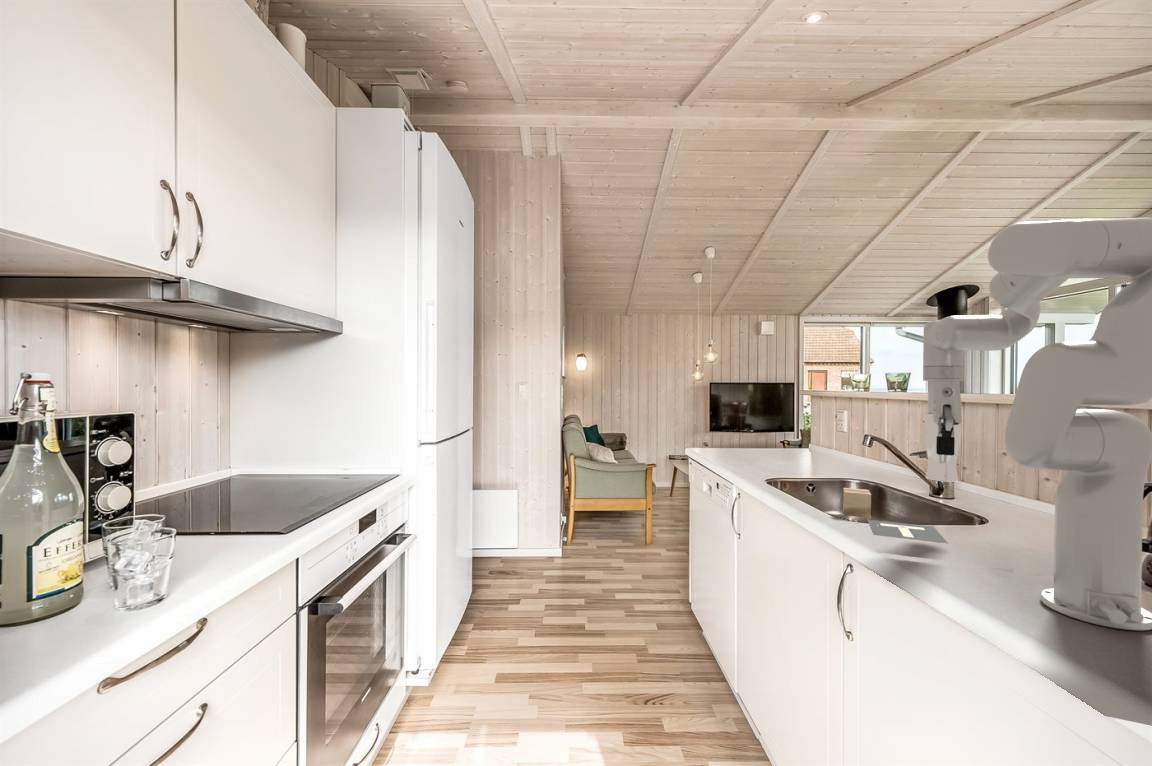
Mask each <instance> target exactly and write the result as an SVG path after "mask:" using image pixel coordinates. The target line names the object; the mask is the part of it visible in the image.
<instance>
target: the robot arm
mask: <svg viewBox="0 0 1152 766" xmlns="http://www.w3.org/2000/svg"><path fill="white" fill-rule="evenodd" d="M987 260H988V263H989V265H990V267H991V268H992V269H993V270H994V271H996V272H997V273H996V274H994V276H993V277H992V278H991V279H990V282H989V285H988V286H989V288H988V289H989V293H990V295H991V297H992V298H993V300H995V302H997V303H998V304H999V305H1000V306H1002V307H1003V308H1005V310H1004V311H1003V312H1001V313H999V314H997V315H996V314H995V315H994V314H986V315H985V314H981V315H980V314H974V315H973V314H972V315H969V314H968V315H967V314H965V315H950V316H946V317H943V318H942V319H938V320H930V321H928V322H926V323H925V324H924V326H923V346H922V347H923V348H922V349H923V350H922V351H923V354H922V355H923V356H922V357H923V358H922V359H923V360H922V381H925V382H928V387H927V391H928V392H927V413H929V414H933V420H934V423H935V424H937V425H938V436H937V441H936V453H937V454H938V455H954V446H955V437H954V426H953V418H954V420H955V421H954V422H957V423H958V424H956V425H960V424H961V425H962V421H963V420H962V399H961V386H960V382H964V379H965V378H964V372H965V371H964V369H965V368H964V366H965V365H964V364H965V362H964V360H965V351H967V352H968V351H980V352H981V351H982V352H983V351H986V352H987V351H994V352H995V351H1001V350H1004V349H1007V348H1010V347H1012V346H1013V345H1015V344H1017V343H1018V342H1020V340H1022V339H1023V338H1025V337H1026V336H1028V335H1029V334H1030V333H1031V332H1032V331H1034V329H1035V328H1036V325H1037V324H1038V321H1039V318H1040V316H1041V315H1040V314H1041V302H1042V301H1043V300H1044V299H1046V297H1048V296H1049V295H1050V294H1051V293H1053V292H1054V291H1056V290H1057V289H1058V288H1059V287H1060V286H1061V285H1063V284H1064V283H1065V282H1067V281H1068V280H1069V279H1114V278H1115V279H1116V278H1120V279H1122V278H1125V279H1128V280H1130V282H1129V283H1128V285H1126V286H1125V287H1123V288H1122V289H1121V290H1119V291H1118V292H1117V293H1115V295H1114V296H1113V297H1112V298H1111V299H1110V300H1109V302H1107V304H1106V305H1105V306H1104V308H1103V310H1102V311H1101V313H1100V316H1099V320H1098V322H1097V325H1096V328H1095V330H1094V333H1093V335H1092V336H1091V338H1090V339H1089V340H1087V341H1061V342H1055V343H1050V344H1047V345H1045V346H1043V347H1041V348H1039V349H1038V350H1036V351H1035V352H1034V353H1033V354H1032V355H1031V356H1030V357H1029V358H1028V360H1027V362H1026V363H1025V365H1024V367H1023V369H1022V372H1021V375H1020V378H1019V381H1018V385H1017V389H1016V392H1015V395H1014V398H1013V402H1012V406H1011V408H1010V412H1009V416H1008V419H1007V422H1006V427H1005V431H1004V432H1005V434H1004V441H1005V448H1006V450H1007V453H1008V455H1009V456H1010V457H1011V459H1013V461H1015V462H1016V464H1019V465H1021V466H1022V467H1025V468H1029V469H1034V470H1040V471H1041V470H1042V471H1043V470H1045V471H1046V470H1047V471H1066V472H1065V474H1064V475H1063V476H1062V478H1061V479H1060V480H1059V483H1058V485H1057V488H1056V491H1055V496H1054V497H1055V498H1054V526H1053V527H1054V528H1053V529H1054V533H1053V534H1054V536H1053V537H1054V538H1053V539H1054V540H1053V544H1054V546H1053V549H1054V550H1053V587H1052V588H1046V589H1043V590H1042V591H1041V592H1040V600H1041V602H1042V603H1043V604H1044V605H1045V606H1047V607H1049V608H1050V609H1051V610H1053V611H1055V612H1058V613H1059V614H1060V613H1061V614H1062V615H1064V616H1068V617H1071V618H1074V619H1076V620H1080V621H1083V622H1086V623H1090V624H1093V625H1097V626H1102V627H1107V628H1114V629H1117V630H1118V629H1119V630H1124V631H1125V630H1127V631H1150V630H1152V612H1151V611H1149V610H1147V609H1145V608H1143V607H1142V565H1143V564H1142V563H1143V561H1142V560H1143V557H1142V556H1143V517H1144V515H1143V511H1144V510H1143V508H1144V490H1145V483H1146V477H1147V474H1148V471H1149V467H1150V465H1151V462H1152V431H1151V429H1150V428H1149V426H1148V425H1147V424H1146V423H1145V422H1144V421H1143V420H1142V419H1140V418H1139V417H1136V416H1134V415H1133V414H1130V413H1128V412H1127V413H1126V412H1123V411H1120V410H1119V411H1118V410H1114V409H1105V408H1104V409H1103V408H1101V409H1100V408H1099V409H1098V408H1079V407H1080V406H1096V407H1097V406H1099V407H1100V406H1106V407H1108V406H1110V407H1112V406H1113V407H1115V406H1118V407H1119V406H1120V407H1121V406H1134V405H1135V406H1136V405H1141V404H1144V403H1147V402H1149V401H1151V400H1152V217H1126V218H1125V217H1124V218H1123V217H1122V218H1082V219H1081V218H1079V219H1075V218H1074V219H1061V220H1047V221H1023V222H1016V223H1014V224H1011V225H1008V226H1006V227H1005V228H1003V229H1002V230H1001V231H999V233H998V234H997V235H996V236H994V238H993V240H992V241H991V243H990V246H989V248H988V251H987ZM942 419H945V423H941V422H940V420H942ZM941 426H943V427H941Z"/></svg>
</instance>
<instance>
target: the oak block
mask: <svg viewBox="0 0 1152 766" xmlns="http://www.w3.org/2000/svg"><path fill="white" fill-rule="evenodd" d="M842 500H843V501H842V512H843V515H844V516H848V517H856V518H866V519H871V518H872V513H871V512H872V511H871V510H872V494H871V492H870V490H869V489H862V488H852V487H843V489H842Z"/></svg>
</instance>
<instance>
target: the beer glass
mask: <svg viewBox="0 0 1152 766" xmlns="http://www.w3.org/2000/svg"><path fill="white" fill-rule="evenodd" d="M954 421H955V420H954V418H953V426H954V437H955V446H954V455H938V454H937V453H936V441H937V436H938V425H937V424H935V423H934V420H933V414H929V413H928V412H925V414H924V425H923V426H924V427H923V438H924V445H925V446H924V447H925V451H926V455H927V467H926V473H925V479H927V480H930V481H936V482H945V483H946V482H947V483H957V482H959V475H958V470H957V461H958V457H959V456H958V455H959V452H960V447H961V443H962V423H961V424H960V425H956V424H958V423H957V422H954ZM940 422H941V423H945V419H942V420H940ZM941 427H943V426H941Z"/></svg>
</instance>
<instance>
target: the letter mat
mask: <svg viewBox="0 0 1152 766" xmlns="http://www.w3.org/2000/svg"><path fill="white" fill-rule="evenodd" d="M867 522H868V524H869V527H870V529H871V532H872V535H874V536H880V537H881V536H882V537H888V538H889V537H890V538H897V539H905V540H915V541H925V542H933V543H942V544H949V542H948V541H947V539H945V538H944V536H942V535H941V532H939V530H937V529H936V528H935V526H933V525H932V526H931V525H922V524H911V523H906V522H905V523H904V522H903V523H902V522H896V521H895V522H893V521H884V520H875V519H874V520H873V519H867ZM877 525H878V526H877Z"/></svg>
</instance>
